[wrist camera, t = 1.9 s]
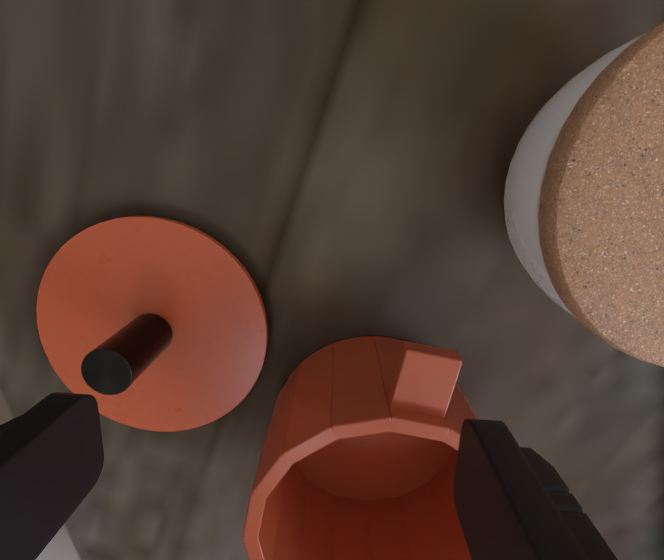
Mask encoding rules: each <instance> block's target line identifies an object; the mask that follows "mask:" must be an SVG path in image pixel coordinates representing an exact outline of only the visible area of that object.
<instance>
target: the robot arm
mask: <svg viewBox="0 0 664 560" xmlns="http://www.w3.org/2000/svg"><path fill="white" fill-rule="evenodd" d="M103 461H104V451H103V443H102V435H101V427H100V419H99V411H98V404H97V401H96V399H95V397H94V396H93V395H90V394H74V393H58V392H56V393H52V394H50V395H48V396H47V397H45V398H44V399H43V400H41V401H40V402H39V403H38V404H36V405H35V406H34V407H32V408H31V409H30V410H28V411H27V412H26V413H24V414H23V415H21V416H19V417H17V418H14V419H12V420H10V421H8V422H6V423H4V424H2V425H0V560H35V559H36V558H37V557H38V556H39V554H40V553H41V552H42V551H43V549H44V548H45V547H46V545H47V544H48V543H49V542H50V541H51V539H52V538H53V537H54V536H55V534H56V533H57V532H58V530H59V529H60V528H61V527H62V526H63V524H64V523H65V522H66V521H67V519H68V518H69V517H70V516H71V514H72V513H73V512H74V511H75V509H76V508H77V507H78V505H79V504H80V503H81V502H82V500H83V499H84V498H85V497H86V495H87V494H88V493H89V492H90V490H91V489H92V488H93V487H94V485H95V484H96V482H97V480H98V478H99V476H100V473H101V470H102V467H103ZM453 493H454V502H455V508H456V512H457V515H458V518H459V522H460V525H461V528H462V531H463V534H464V537H465V540H466V544H467V547H468V550H469V553H470V556H471V559H472V560H618V559H617V558H616V556H615V555H614V554H613V552H612V551H611V549H610V548H609V546H608V545H607V544H606V542H605V541H604V539H603V538H602V536H601V535H600V533H599V532H598V531H597V529H596V528H595V526H594V525H593V523H592V522H591V520H590V519H589V518H588V516H587V515H586V513H583V512H582V507H581V506H580V505H579V503H578V502H577V500H576V499H575V497H574V496H573V494H571V493H569V489H568V487H567V486H566V484H565V483H564V481H563V480H562V479H561V477H560V476H559V474H558V473H557V471H556V470H555V468H554V467H553V466H552V465H551V464H549V463H548V462H547V461H546V460H544V459H543V458H542V457H541V456H540V455H538V454H537V453H536V452H535V451H534V450H532V449H531V448H521V447H519V445H518V444H517V442H516V441H515V439H514V437H513V436H512V434H511V432H510V431H509V429H508V428H507V426H506V425H505V423H504V422H502V421H493V420H477V419H465V420H464V422H463V424H462V428H461V434H460V441H459V447H458V454H457V460H456V467H455V473H454V481H453Z"/></svg>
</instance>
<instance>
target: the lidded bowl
mask: <svg viewBox="0 0 664 560" xmlns="http://www.w3.org/2000/svg"><path fill="white" fill-rule="evenodd" d="M504 212H505V223H506V227H507V232H508V236H509V240H510V242H511V245H512V247H513V249H514V252H515V254H516V256H517V258H518V259H519V261H520V262H521V264H522V265H523V267H524V268H525V270H526V271H527V273H528V274H529V276H530V277H531V279H532V280H533V281H534V282H535V283H536V284H537V285H538V286H539V287H540V288H541V290H542V291H543V292H544V293H545V294H546V295H547V296H548V297H549V298H550V299H551V300H552V301H553V302H554V303H556V304H557V305H559V306H560V307H561V308H563V309H564V310H565V311H567V312H568V313H570V314H571V315H572V316H574V317H575V318H576V319H578V320H579V321H580V323H581V324H582V325H584V326H585V327H586V328H587V329H589V330H590V331H591V332H593V333H594V334H595V335H597V336H598V337H600V338H601V339H602V340H604V341H605V342H607V343H608V344H610V345H611V346H613V347H614V348H616V349H618V350H620V351H622V352H624V353H626V354H628V355H630V356H632V357H634V358H636V359H638V360H642V361H645V362H648V363H652V364H655V365H659V366H662V367H664V22H663V23H661V24H659V25H657V26H656V27H654V28H652V29H651V30H650V31H648V32H647V33H645V34H643V35H641V36H639V37H637V38H635V39H633V40H631V41H629V42H627V43H626V44H624V45H622V46H620V47H618V48H616V49H614V50H613V51H611V52H609V53H607V54H606V55H604V56H603V57H601V58H600V59H598V60H597V61H595V62H594V63H592V64H591V65H590V66H588V67H587V68H586V69H584V70H583V71H582V72H580V73H579V74H578V75H576V76H575V77H573V78H572V79H571V80H570V81H569V82H568V83H566V84H565V85H564V86H563V87H562V88H561V89H560V90H559V91H558V92H557V93H556V94H555V95H554V96H553V97H552V98H551V99H550V100H549V101H548V102H547V103H546V104H545V105H544V106H543V107H542V108H541V110H540V111H539V112H538V114H537V115H536V116H535V117H534V119H533V120H532V121H531V123H530V124H529V126H528V127H527V129H526V131H525V133H524V134H523V136H522V138H521V140H520V141H519V143H518V146H517V148H516V151H515V153H514V156H513V158H512V161H511V163H510V166H509V170H508V174H507V178H506V183H505V193H504Z"/></svg>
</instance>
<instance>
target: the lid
mask: <svg viewBox="0 0 664 560" xmlns="http://www.w3.org/2000/svg"><path fill="white" fill-rule="evenodd" d="M36 313H37V325H38V331H39V336H40V339H41V342H42V345H43V348H44V351H45V353H46V355H47V357H48V359H49V362H50V364H51V365H52V367H53V368H54V370H55V372H56V373H57V375H58V376H59V377H60V379H61V380H62V381H63V382H64V384H65V385H66V386H67V387H68V388H69V389H70V390H71V391H72V392H73V393H74V394H90V395H93V396H94V397H95V399H96V401H97V404H98V411H99V413H100V414H102V415H104V416H106V417H108V418H110V419H112V420H114V421H116V422H119V423H122V424H124V425H127V426H131V427H135V428H139V429H143V430H150V431H166V432H172V431H182V430H188V429H192V428H197V427H200V426H203V425H206V424H208V423H211V422H213V421H215V420H217V419H219V418H221V417H223V416H224V415H226V414H227V413H228V412H230V411H231V410H233V409H234V408H235V407H236V406H237V405H238V404H239V403H241V402H242V401H243V399H244V398H245V397H246V396H247V395H248V393H249V392H250V391H251V389H252V388H253V386H254V384H255V383H256V381H257V380H258V377H259V375H260V372H261V370H262V368H263V365H264V361H265V358H266V354H267V347H268V321H267V316H266V310H265V307H264V304H263V301H262V298H261V295H260V293H259V291H258V289H257V286H256V284H255V282H254V281H253V279H252V278H251V276H250V274H249V273H248V271H247V270H246V269H245V267H244V266H243V265H242V264H241V263H240V261H239V260H238V259H237V258H236V257H235V256H234V255H233V254H232V253H231V252H230V251H229V250H228V249H227V248H226V247H225V246H223V245H222V244H221V243H219V242H218V241H217V240H215V239H214V238H213V237H211V236H209V235H207V234H206V233H204V232H202V231H200V230H199V229H197V228H194V227H192V226H189V225H187V224H185V223H182V222H179V221H175V220H171V219H168V218H162V217H155V216H128V217H120V218H115V219H111V220H107V221H104V222H100V223H98V224H95V225H93V226H91V227H89V228H86V229H85V230H83V231H81V232H80V233H78V234H77V235H75V236H74V237H72V238H71V239H70V240H69V241H68V242H67V243H65V244H64V245H63V246H62V247H61V248H60V250H59V251H58V252H57V253H56V254H55V256H54V257H53V258H52V260H51V262H50V263H49V265H48V267H47V268H46V270H45V273H44V275H43V278H42V280H41V283H40V287H39V291H38V296H37V307H36Z"/></svg>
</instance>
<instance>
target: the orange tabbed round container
mask: <svg viewBox="0 0 664 560" xmlns="http://www.w3.org/2000/svg"><path fill="white" fill-rule="evenodd" d="M462 363H463V360H462V359H461V357H460V356H459V354H458V353H457V352H456V351H453V350H448V349H443V348H438V347H434V346H429V345H424V344H419V343H414V342H409V341H402V340H398V339H394V338H388V337H381V336H364V337H354V338H349V339H345V340H341V341H338V342H335V343H332V344H330V345H327V346H325V347H323V348H321V349H320V350H318V351H316V352H314V353H313V354H312V355H310V356H309V357H307V358H306V359H305V360H304V361H302V362H301V363H300V364H299V365H298V366H297V367H296V368H295V369H294V371H293V372H292V373H291V374H290V375H289V377H288V378H287V380H286V382H285V383H284V385H283V387H282V389H281V390H280V392H279V393H278V395H277V398H276V402H275V406H274V410H273V413H272V417H271V421H270V424H269V428H268V432H267V436H266V439H265V443H264V447H263V450H262V454H261V458H260V462H259V465H258V469H257V473H256V477H255V480H254V484H253V488H252V491H251V496H250V501H249V506H248V511H247V517H246V522H245V527H244V532H243V541H244V544H245V547H246V551H247V554H248V557H249V560H472V559H471V556H470V553H469V550H468V547H467V544H466V540H465V537H464V534H463V531H462V528H461V525H460V522H459V518H458V515H457V512H456V508H455V502H454V493H453V481H454V473H455V467H456V460H457V454H458V447H459V441H460V434H461V428H462V424H463V422H464V420H465V419H477V420H479V419H478V417H477V415H476V413H475V412H474V410H473V408H472V406H471V405H470V403H469V401H468V399H467V397H466V396H465V394H464V393H463V391H462V389H461V388H460V386H459V385H458V383H457V378H458V375H459V372H460V369H461V366H462Z"/></svg>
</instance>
